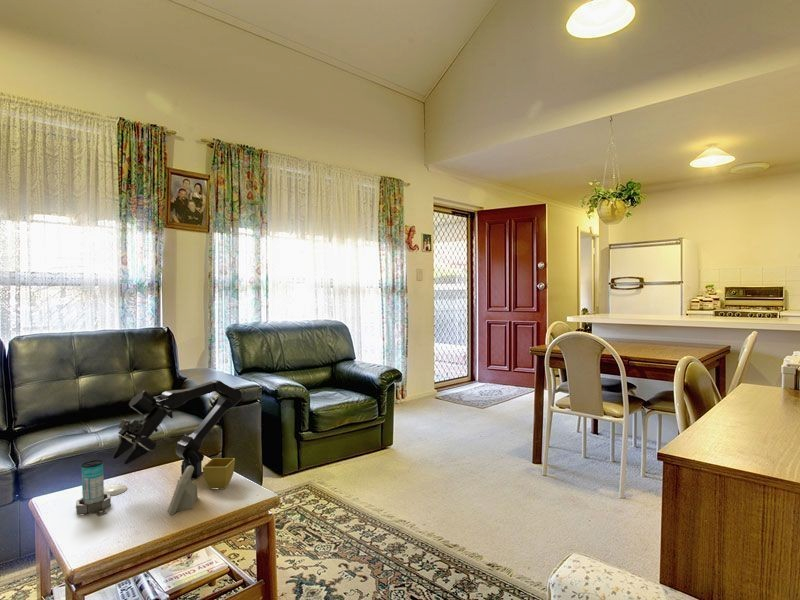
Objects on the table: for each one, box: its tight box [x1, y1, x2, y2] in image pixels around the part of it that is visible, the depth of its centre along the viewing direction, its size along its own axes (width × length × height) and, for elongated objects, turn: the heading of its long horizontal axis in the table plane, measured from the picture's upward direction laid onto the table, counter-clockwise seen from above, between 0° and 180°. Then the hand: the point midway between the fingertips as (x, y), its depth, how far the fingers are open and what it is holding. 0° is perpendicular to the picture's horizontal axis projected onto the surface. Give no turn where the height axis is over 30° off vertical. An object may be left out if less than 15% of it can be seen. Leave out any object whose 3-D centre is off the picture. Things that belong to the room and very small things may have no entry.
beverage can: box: [81, 459, 105, 505], centre depth 156 cm, size 6×6×15 cm
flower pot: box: [202, 457, 236, 489], centre depth 172 cm, size 9×9×9 cm
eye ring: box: [75, 493, 112, 517], centre depth 156 cm, size 15×10×3 cm
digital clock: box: [167, 465, 199, 515], centre depth 158 cm, size 16×9×11 cm, turn 2°
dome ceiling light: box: [104, 483, 128, 497], centre depth 170 cm, size 9×9×1 cm
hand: (119, 461), depth 163 cm, fingers open, 9 cm apart
